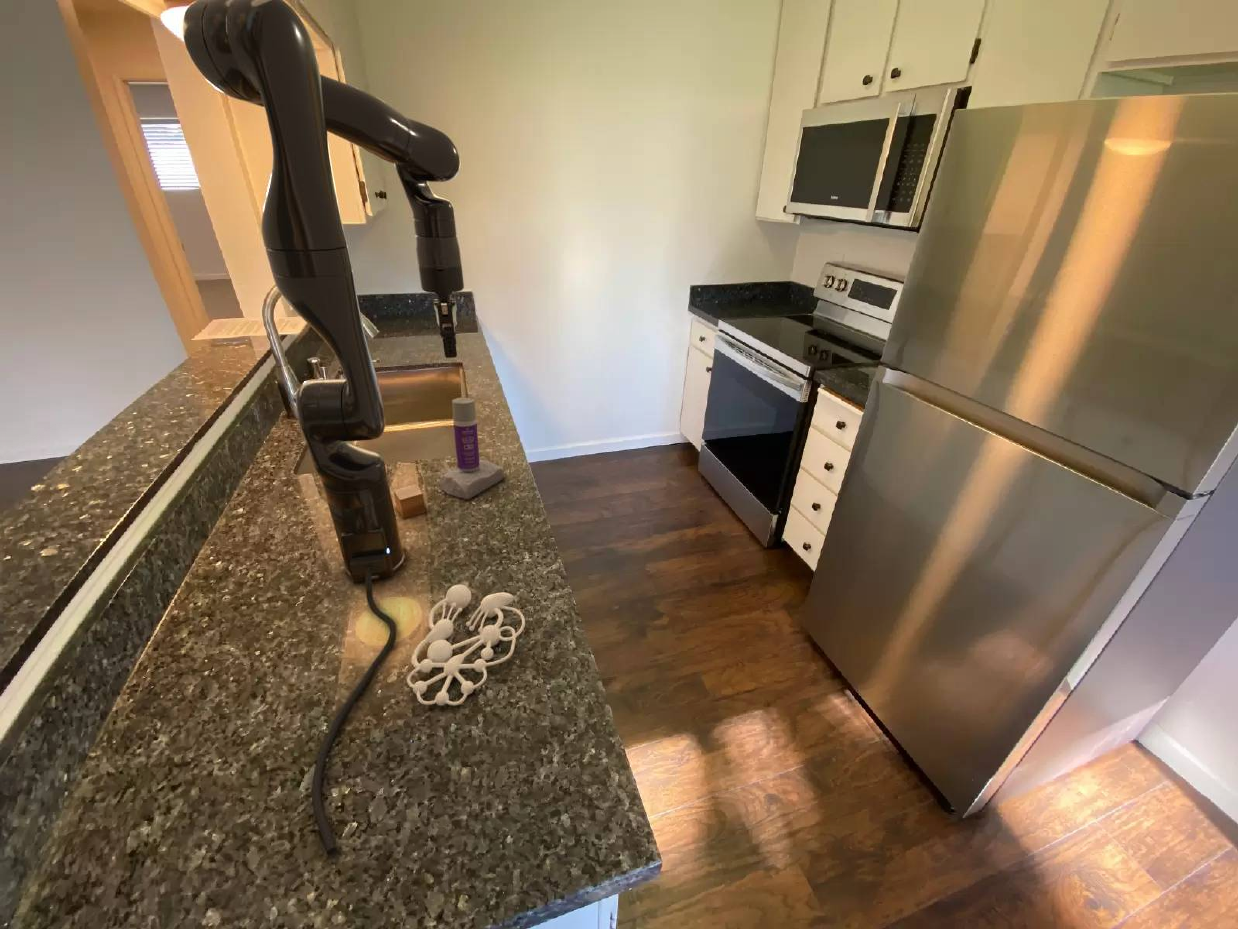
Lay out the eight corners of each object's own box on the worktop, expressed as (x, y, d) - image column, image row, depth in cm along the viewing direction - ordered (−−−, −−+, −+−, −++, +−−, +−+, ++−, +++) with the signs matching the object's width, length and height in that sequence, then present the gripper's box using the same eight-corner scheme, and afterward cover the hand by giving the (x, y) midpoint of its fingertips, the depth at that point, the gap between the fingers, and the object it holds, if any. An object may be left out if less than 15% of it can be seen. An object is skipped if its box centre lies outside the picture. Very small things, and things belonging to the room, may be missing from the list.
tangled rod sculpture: (488, 725, 65) (488, 705, 63) (380, 701, 67) (376, 680, 64) (534, 612, 82) (535, 593, 80) (447, 594, 83) (445, 575, 81)
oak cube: (426, 512, 105) (422, 493, 103) (403, 519, 102) (399, 500, 100) (418, 502, 108) (415, 484, 106) (397, 508, 105) (393, 490, 103)
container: (466, 473, 110) (461, 404, 104) (452, 467, 112) (446, 400, 107) (484, 467, 113) (479, 400, 108) (470, 461, 116) (465, 396, 110)
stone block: (437, 496, 113) (468, 502, 108) (432, 475, 112) (463, 480, 106) (477, 475, 122) (508, 480, 117) (473, 456, 121) (504, 460, 115)
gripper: (419, 257, 99) (431, 342, 107) (415, 268, 87) (429, 362, 95) (460, 257, 101) (469, 340, 109) (462, 268, 89) (472, 360, 97)
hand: (451, 350), depth 102 cm, fingers open, 8 cm apart
